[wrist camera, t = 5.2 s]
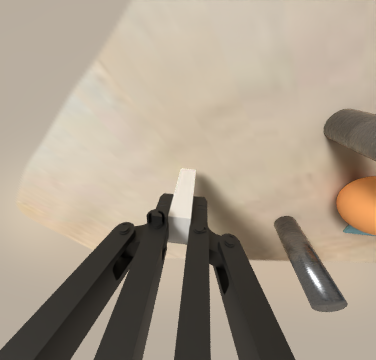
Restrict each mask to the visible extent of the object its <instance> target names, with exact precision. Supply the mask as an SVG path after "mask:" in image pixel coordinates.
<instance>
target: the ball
mask: <svg viewBox="0 0 376 360" xmlns="http://www.w3.org/2000/svg"><path fill="white" fill-rule="evenodd" d="M337 209H338V212H339V214H340V215H341V217H342V218H343V219H344V220H345V221H346V222H347V223H348V224H349V225H351V226H352V227H354V228H356V229H358V230H360V231H362V232H365V233H368V234H371V235H376V176H372V177H365V178H360V179H357V180H355V181H352V182H350V183H349V184H347V185H346V186H345V187H344V188H343V189H342V190H341V191H340V192H339V194H338V197H337Z"/></svg>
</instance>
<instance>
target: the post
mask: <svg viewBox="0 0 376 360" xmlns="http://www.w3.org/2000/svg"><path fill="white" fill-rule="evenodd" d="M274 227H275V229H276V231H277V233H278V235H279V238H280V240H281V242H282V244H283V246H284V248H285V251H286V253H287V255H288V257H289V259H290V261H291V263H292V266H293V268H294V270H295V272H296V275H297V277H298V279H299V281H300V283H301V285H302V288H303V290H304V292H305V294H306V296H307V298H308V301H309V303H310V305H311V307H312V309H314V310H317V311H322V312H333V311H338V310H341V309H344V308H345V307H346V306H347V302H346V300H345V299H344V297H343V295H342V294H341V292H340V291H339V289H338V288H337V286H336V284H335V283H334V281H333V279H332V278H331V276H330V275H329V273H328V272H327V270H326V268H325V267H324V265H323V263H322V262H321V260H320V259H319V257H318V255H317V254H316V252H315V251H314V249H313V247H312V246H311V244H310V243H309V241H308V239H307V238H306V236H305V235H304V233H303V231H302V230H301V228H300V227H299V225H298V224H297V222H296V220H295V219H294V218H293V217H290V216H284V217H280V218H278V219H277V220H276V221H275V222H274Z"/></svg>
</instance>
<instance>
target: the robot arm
mask: <svg viewBox="0 0 376 360" xmlns="http://www.w3.org/2000/svg"><path fill="white" fill-rule="evenodd" d="M195 174H196V170H193V169H184V168H181V170H180V174H179V178H178V181H177V185H176V189H175V192H174V194H166V193H164V194H163V195H162V196H161V197H160V199H159V202H158V204H157V207H156V209H154V210H151V211H150V212H148V214H147V224H145V225H141V226H134V225H133V224H132V223H129V222H124V223H121V224H119V225H117V226H116V227H115V228H114V229H113V230H112V231H111V232H110V234H109V235H108V236H107V237H106V238H105V239H104V240H103V241H102V242H101V243H100V244H99V245H98V246H97V247H96V249H95V250H94V251H93V252H92V253H91V254H90V255H89V256H88V257H87V258H86V259H85V260H84V261H83V263H81V265H80V266H79V267H78V268H77V269H76V270H75V271H74V272H73V273H72V274H71V275H70V276H69V277H68V278H67V279H66V281H65V282H64V283H63V284H62V285H61V286H60V287H59V288H58V289H57V290H56V291H55V292H54V294H52V296H51V297H50V298H49V299H48V300H47V301H46V302H45V303H44V304H43V305H42V306H41V307H40V308H39V310H38V311H37V312H36V313H35V314H34V315H33V316H32V317H31V318H30V319H29V320H28V321H27V322H26V323H25V324H24V325H23V326H22V328H21V329H20V330H19V331H18V332H17V333H16V334H15V335H14V336H13V337H12V338H11V339H10V340H9V342H7V344H6V345H5V346H4V347H3V348H2V349H1V350H0V360H70V359H71V358H72V356H73V355H74V353H75V352H76V350H77V348H78V347H79V345H80V344H81V342H82V341H83V339H84V338H85V336H86V335H87V333H88V332H89V330H90V328H91V327H92V325H93V324H94V322H95V321H96V319H97V318H98V316H99V315H100V313H101V312H102V310H103V309H104V307H105V306H106V304H107V302H108V301H109V300H110V298H111V296H112V295H113V293H114V292H115V290H116V289H117V287H118V286H119V284H120V283H121V281H122V280H123V278H124V277H125V275H126V273H127V272H128V270H129V272H128V274H127V277H126V279H125V282H124V284H123V287H122V289H121V292H120V295H119V297H118V300H117V302H116V305H115V307H114V310H113V312H112V315H111V318H110V320H109V322H108V325H107V328H106V330H105V333H104V335H103V338H102V340H101V343H100V345H99V348H98V350H97V353H96V355H95V358H94V360H142V358H143V354H144V349H145V345H146V340H147V336H148V331H149V327H150V322H151V318H152V313H153V309H154V304H155V300H156V295H157V291H158V287H159V282H160V278H161V273H162V268H163V264H164V260H165V255H166V251H167V242H171V243H179V244H187V251H186V260H185V269H184V277H183V286H182V295H181V304H180V312H179V321H178V330H177V339H176V348H175V357H174V360H211V355H210V292H209V291H210V288H209V264H211V265H213V267H214V271H215V275H216V278H217V282H218V285H219V289H220V293H221V296H222V300H223V303H224V307H225V310H226V314H227V318H228V322H229V325H230V329H231V333H232V336H233V340H234V343H235V347H236V350H237V355H238V358H239V360H295V358H294V356H293V354H292V352H291V349H290V347H289V345H288V343H287V341H286V339H285V337H284V335H283V333H282V330H281V328H280V326H279V324H278V322H277V320H276V318H275V316H274V314H273V311H272V309H271V307H270V305H269V303H268V301H267V299H266V297H265V294H264V292H263V290H262V288H261V286H260V284H259V282H258V280H257V278H256V275H255V273H254V271H253V269H252V267H251V265H250V263H249V260H248V258H247V256H246V254H245V252H244V250H243V248H242V246H241V244H240V241H239V240H238V239H237V238H236V237H235V236H234V235H231V234H223V235H222V236H220V235H217V234H215V233H213V232H212V231H211V230H210V229H209V228H208V224H207V200H206V199H205V197H196V196H193V193H194V184H195Z"/></svg>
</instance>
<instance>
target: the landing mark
mask: <svg viewBox="0 0 376 360" xmlns="http://www.w3.org/2000/svg"><path fill="white" fill-rule="evenodd" d="M343 232H345V233H353V234H362V235H371V234H368V233H365V232H362V231H360V230H358V229H356V228H354V227H352V226H351V225H348V226H347V227H346V228H345V230H344V231H343ZM371 236H376V235H371Z"/></svg>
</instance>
